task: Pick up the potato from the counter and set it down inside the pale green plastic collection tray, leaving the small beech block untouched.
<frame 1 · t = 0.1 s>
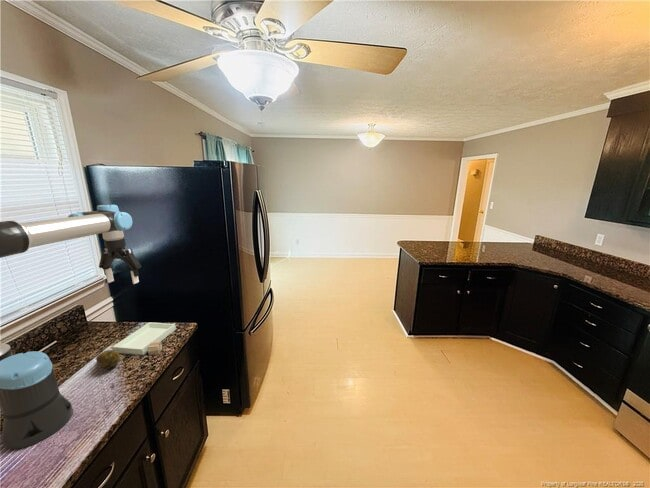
hand: (123, 282, 125), 28 cm above the counter, fingers open, 13 cm apart
potato: (110, 365, 109), on the counter
tray: (146, 340, 127), on the counter
beech block: (155, 351, 118), on the counter
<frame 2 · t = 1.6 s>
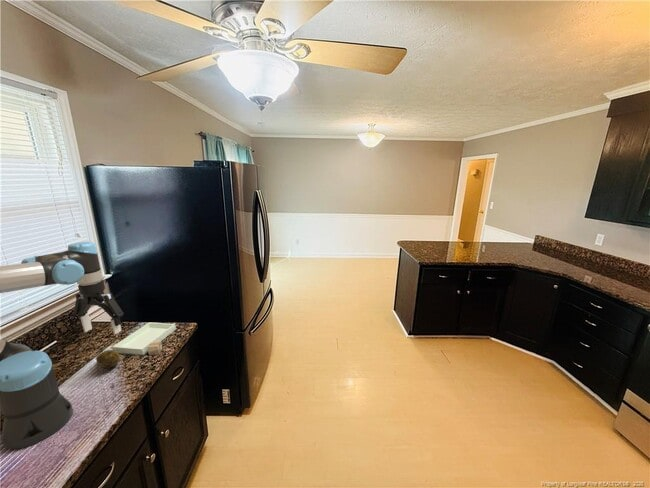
hand: (102, 331, 106), 16 cm above the counter, fingers open, 13 cm apart
nothing on the counter moved.
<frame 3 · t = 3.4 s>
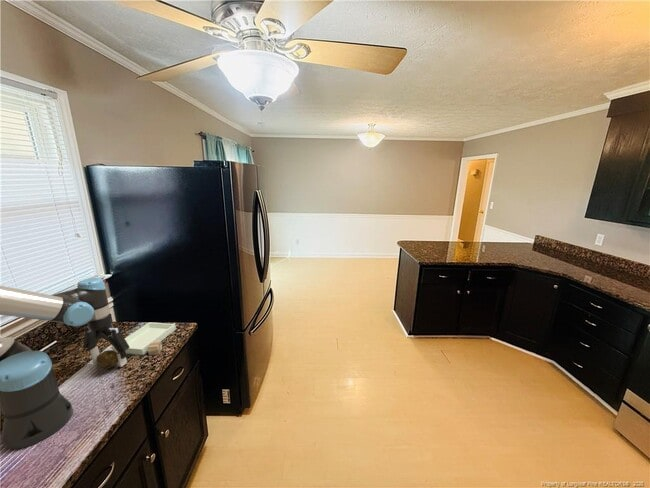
hand: (110, 363, 109), 1 cm above the counter, fingers closed on potato, 12 cm apart
potato: (110, 365, 109), on the counter, touching gripper
everything else where it was.
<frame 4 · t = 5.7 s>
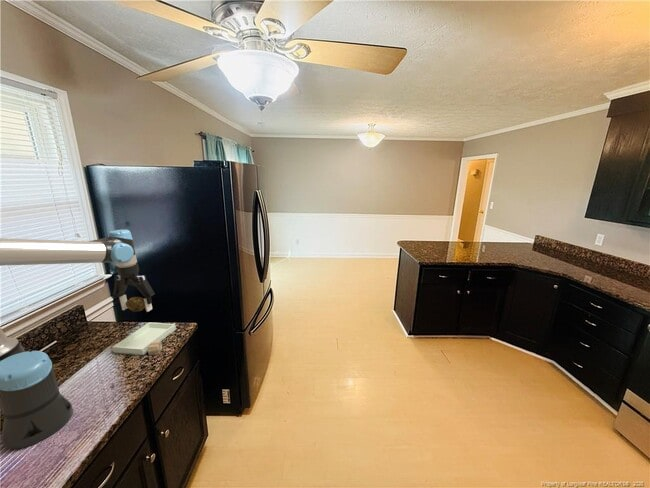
hand: (137, 309, 121), 17 cm above the counter, fingers closed on potato, 12 cm apart
potato: (138, 311, 121), point 16 cm above the counter, touching gripper
everything else where it was.
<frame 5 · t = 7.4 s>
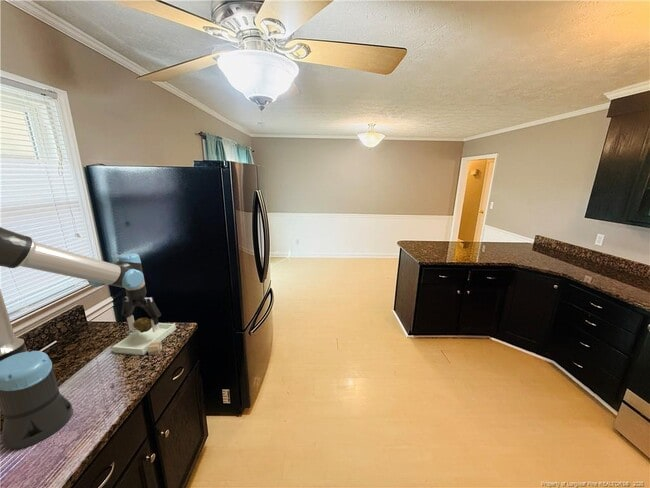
hand: (144, 329, 125), 6 cm above the counter, fingers closed on potato, 12 cm apart
potato: (144, 331, 125), point 5 cm above the counter, touching gripper
everything else where it was.
when the fingers open (4 cm above the counter, at t = 8.4 s): potato drops 2 cm, point 1 cm above the counter.
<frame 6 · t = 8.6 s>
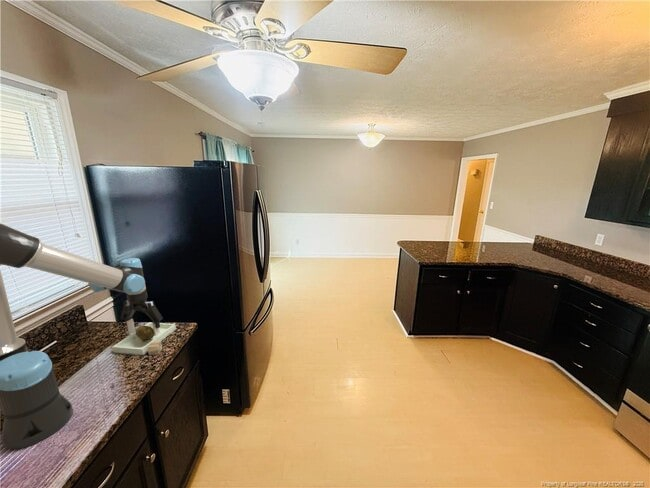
hand: (144, 333, 125), 4 cm above the counter, fingers open, 13 cm apart
potato: (146, 339, 126), point 1 cm above the counter, touching gripper
everything else where it was.
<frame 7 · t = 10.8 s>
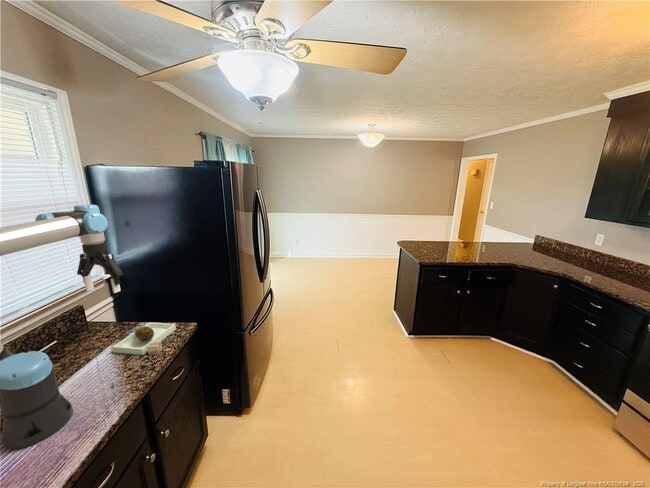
hand: (103, 291, 113), 29 cm above the counter, fingers open, 13 cm apart
potato: (146, 340, 126), resting on tray
everything else where it was.
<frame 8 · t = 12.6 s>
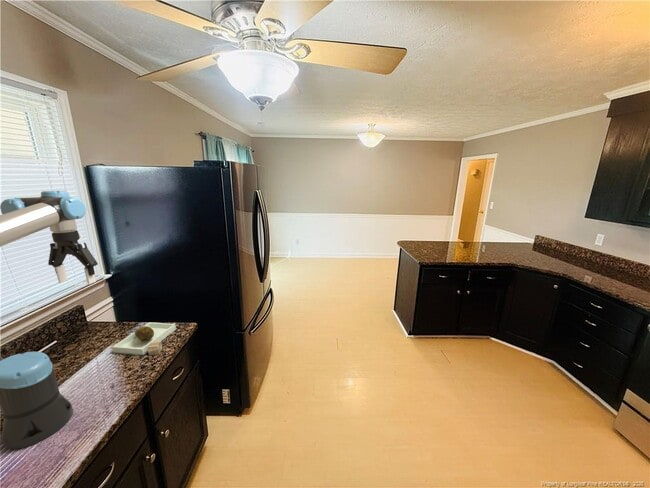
hand: (77, 282, 107), 35 cm above the counter, fingers open, 13 cm apart
nothing on the counter moved.
at the end: potato inside the target area on the tray (0.7 cm from its centre), point 0.4 cm above the tray's base; the gripper is holding nothing; beech block moved 0.1 cm from its start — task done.
